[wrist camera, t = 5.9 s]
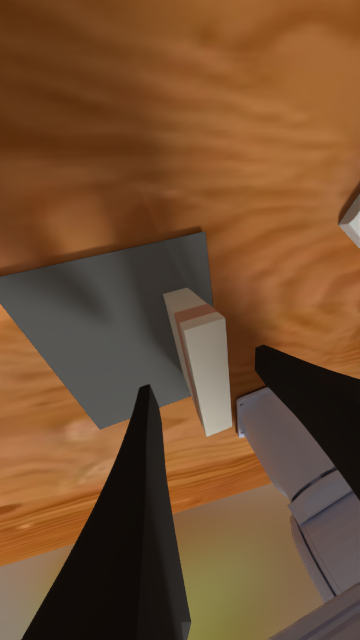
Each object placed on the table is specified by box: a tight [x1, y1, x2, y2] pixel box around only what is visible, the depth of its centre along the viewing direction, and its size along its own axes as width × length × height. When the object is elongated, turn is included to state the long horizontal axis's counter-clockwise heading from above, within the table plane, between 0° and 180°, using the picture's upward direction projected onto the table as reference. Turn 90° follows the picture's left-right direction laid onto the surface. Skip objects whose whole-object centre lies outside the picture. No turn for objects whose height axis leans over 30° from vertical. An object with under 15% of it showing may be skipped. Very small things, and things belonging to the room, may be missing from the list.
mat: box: [0, 232, 213, 429], centre depth 14 cm, size 16×14×1 cm
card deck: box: [163, 288, 232, 437], centre depth 12 cm, size 9×2×6 cm, turn 11°
